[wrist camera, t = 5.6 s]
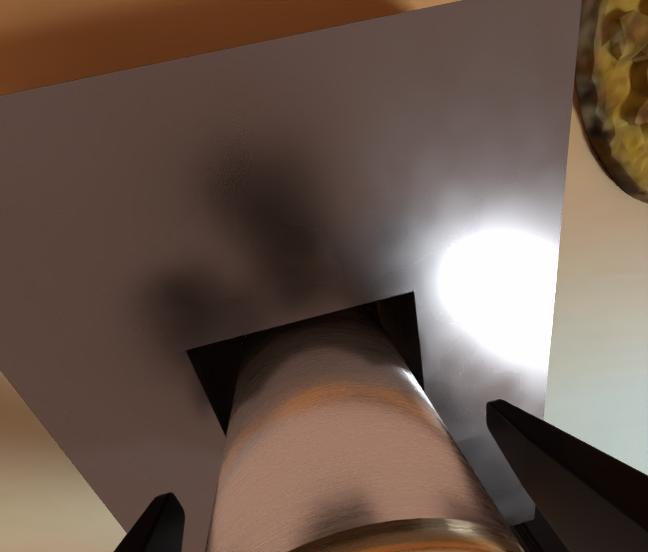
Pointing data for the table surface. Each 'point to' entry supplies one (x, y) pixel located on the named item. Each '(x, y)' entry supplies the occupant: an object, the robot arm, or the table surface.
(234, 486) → the end cover
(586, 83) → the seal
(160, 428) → the housing
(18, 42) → the table surface
